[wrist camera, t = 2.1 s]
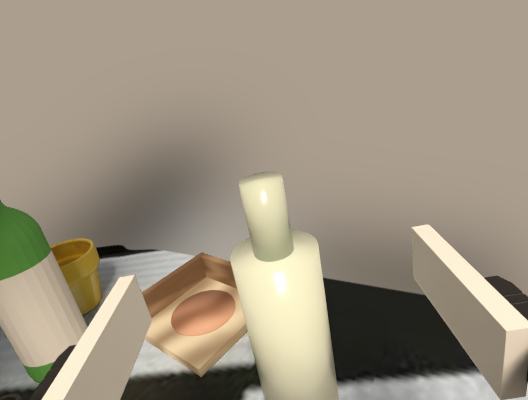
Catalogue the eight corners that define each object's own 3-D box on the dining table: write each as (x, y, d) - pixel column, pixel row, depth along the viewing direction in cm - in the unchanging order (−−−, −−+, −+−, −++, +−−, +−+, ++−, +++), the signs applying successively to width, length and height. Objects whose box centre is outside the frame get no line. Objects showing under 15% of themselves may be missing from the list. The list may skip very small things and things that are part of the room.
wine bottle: (54, 397, 41) (-86, 149, 30) (21, 377, 45) (-115, 151, 34) (109, 348, 47) (9, 126, 36) (75, 334, 51) (-24, 130, 40)
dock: (135, 333, 49) (123, 304, 47) (208, 278, 58) (201, 252, 57) (201, 377, 40) (190, 343, 38) (274, 303, 50) (268, 274, 48)
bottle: (254, 418, 34) (193, 193, 25) (294, 367, 39) (254, 161, 30) (315, 460, 30) (268, 205, 21) (352, 396, 35) (326, 166, 26)
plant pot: (124, 282, 62) (105, 234, 58) (94, 325, 52) (69, 270, 49) (70, 288, 63) (48, 241, 60) (31, 330, 54) (2, 277, 50)
